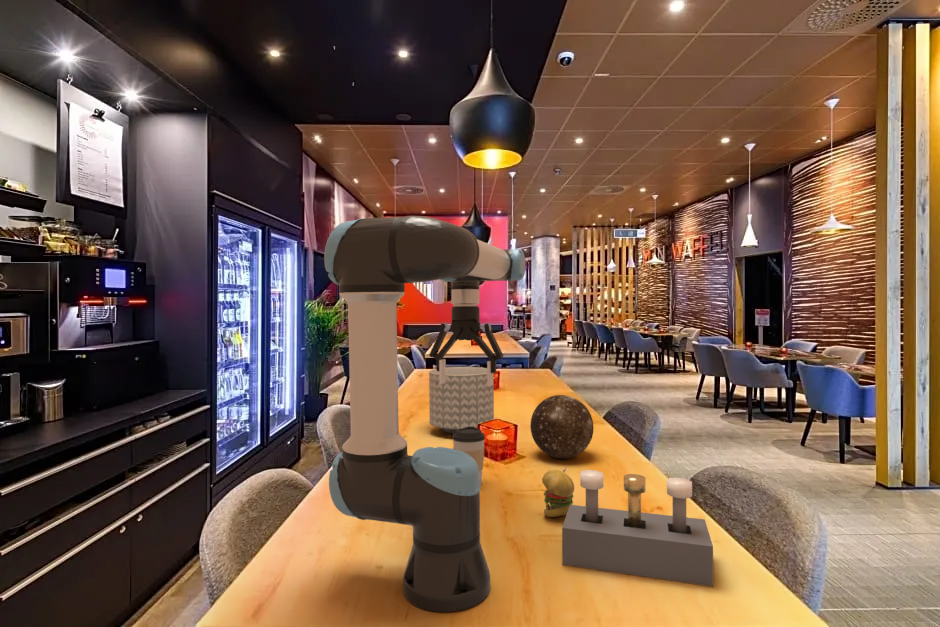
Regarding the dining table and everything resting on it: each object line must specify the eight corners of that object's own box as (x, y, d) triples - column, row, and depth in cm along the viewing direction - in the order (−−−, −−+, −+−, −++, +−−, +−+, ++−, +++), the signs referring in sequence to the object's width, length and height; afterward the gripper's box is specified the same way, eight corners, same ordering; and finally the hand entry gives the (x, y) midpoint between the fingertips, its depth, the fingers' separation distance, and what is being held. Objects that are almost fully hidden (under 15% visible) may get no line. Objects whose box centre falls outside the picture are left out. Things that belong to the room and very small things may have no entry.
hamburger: (553, 508, 126) (552, 458, 126) (580, 515, 121) (580, 464, 121) (536, 518, 120) (535, 466, 120) (564, 526, 115) (563, 472, 115)
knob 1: (602, 528, 100) (602, 478, 100) (579, 525, 101) (579, 476, 101) (604, 519, 104) (604, 471, 104) (581, 516, 105) (581, 469, 105)
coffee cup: (482, 489, 139) (481, 433, 139) (449, 487, 141) (448, 432, 140) (487, 478, 148) (487, 426, 147) (456, 476, 150) (456, 424, 149)
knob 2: (693, 539, 95) (693, 486, 95) (667, 536, 96) (667, 484, 96) (691, 529, 99) (691, 478, 99) (666, 526, 100) (666, 476, 100)
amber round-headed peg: (645, 533, 98) (645, 481, 97) (623, 530, 99) (623, 479, 99) (645, 524, 101) (645, 475, 101) (624, 522, 103) (623, 473, 102)
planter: (419, 437, 195) (419, 373, 194) (442, 423, 219) (442, 366, 218) (484, 442, 187) (483, 375, 187) (500, 426, 211) (500, 367, 211)
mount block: (713, 586, 90) (712, 546, 90) (562, 564, 98) (562, 527, 98) (704, 555, 102) (704, 519, 102) (570, 537, 110) (570, 504, 110)
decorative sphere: (606, 462, 162) (606, 398, 162) (550, 470, 155) (550, 403, 155) (571, 446, 181) (571, 388, 181) (519, 452, 174) (519, 392, 173)
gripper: (514, 305, 140) (514, 384, 140) (428, 305, 148) (428, 380, 148) (506, 305, 133) (507, 388, 133) (417, 305, 141) (417, 384, 141)
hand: (466, 384), depth 140 cm, fingers open, 13 cm apart
